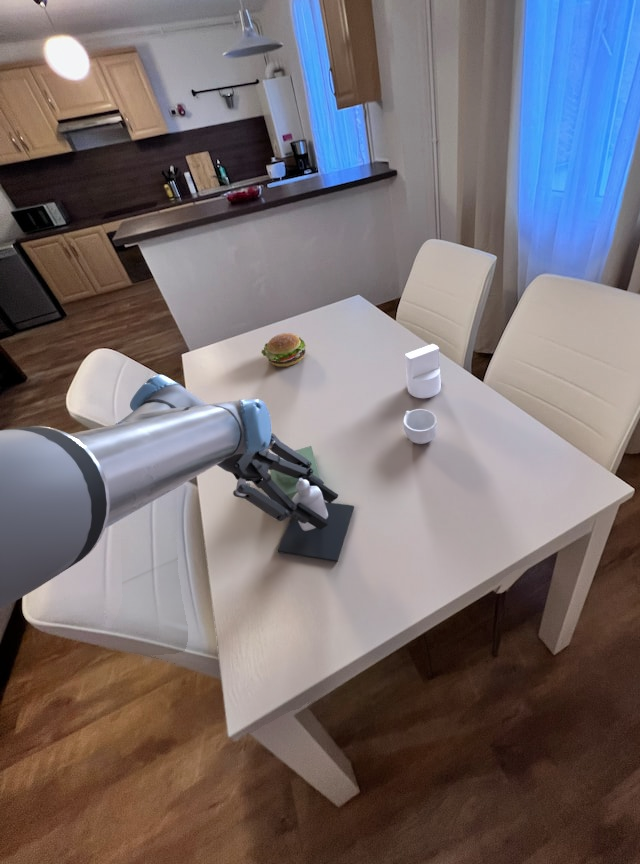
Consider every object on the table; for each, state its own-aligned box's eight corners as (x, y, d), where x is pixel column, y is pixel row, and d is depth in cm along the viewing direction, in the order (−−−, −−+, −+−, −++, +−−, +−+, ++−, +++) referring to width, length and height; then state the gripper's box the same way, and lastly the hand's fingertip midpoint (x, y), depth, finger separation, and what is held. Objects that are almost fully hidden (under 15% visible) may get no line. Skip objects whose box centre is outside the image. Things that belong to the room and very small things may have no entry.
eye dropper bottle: (328, 528, 76) (316, 486, 69) (299, 532, 76) (283, 491, 69) (328, 509, 79) (316, 467, 72) (300, 513, 79) (286, 472, 72)
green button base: (325, 496, 85) (319, 477, 82) (278, 510, 84) (271, 492, 80) (314, 457, 95) (309, 439, 91) (273, 470, 93) (266, 452, 90)
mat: (337, 562, 73) (336, 560, 72) (277, 552, 76) (276, 550, 76) (354, 507, 82) (353, 505, 82) (300, 500, 85) (299, 498, 85)
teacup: (444, 439, 94) (443, 422, 91) (416, 453, 92) (415, 436, 88) (419, 417, 101) (418, 400, 98) (393, 429, 99) (391, 412, 96)
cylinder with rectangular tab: (418, 402, 106) (415, 364, 99) (401, 385, 113) (398, 349, 106) (447, 390, 109) (446, 353, 102) (429, 375, 116) (427, 338, 109)
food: (261, 356, 138) (254, 336, 133) (299, 343, 141) (294, 323, 137) (271, 375, 127) (264, 354, 122) (312, 360, 131) (307, 339, 126)
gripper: (238, 417, 79) (332, 481, 84) (185, 491, 65) (302, 563, 70) (255, 397, 74) (353, 466, 79) (201, 472, 60) (325, 550, 65)
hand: (329, 511), depth 74 cm, fingers closed on eye dropper bottle, 5 cm apart
